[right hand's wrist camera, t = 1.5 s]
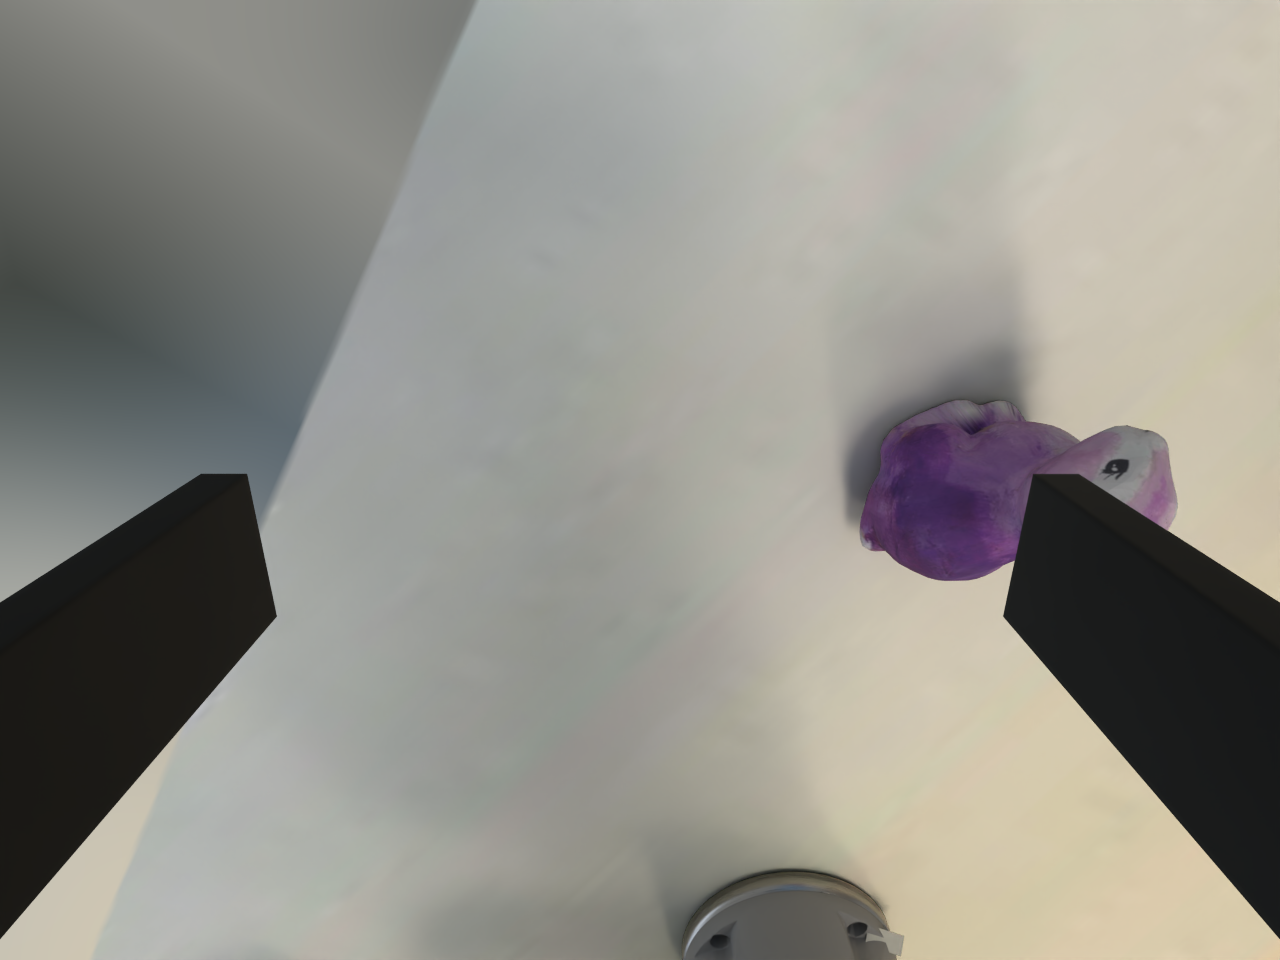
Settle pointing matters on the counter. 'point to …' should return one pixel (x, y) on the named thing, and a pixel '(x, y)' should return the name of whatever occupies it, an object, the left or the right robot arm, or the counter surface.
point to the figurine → (994, 484)
